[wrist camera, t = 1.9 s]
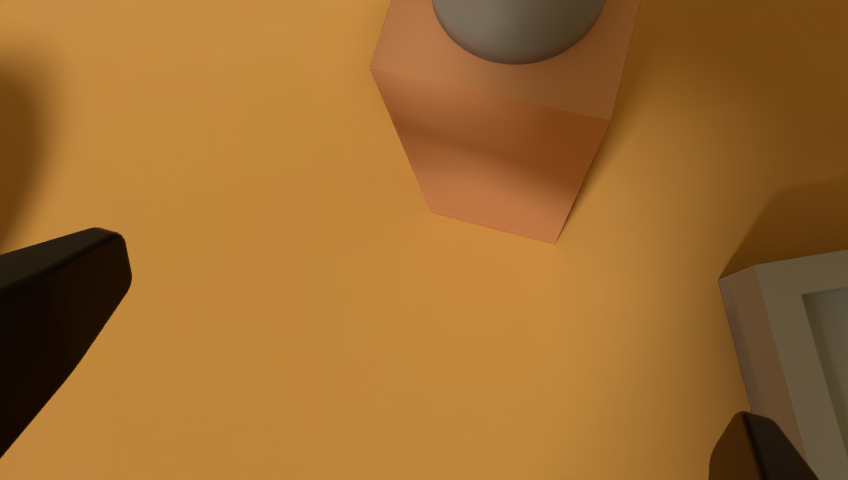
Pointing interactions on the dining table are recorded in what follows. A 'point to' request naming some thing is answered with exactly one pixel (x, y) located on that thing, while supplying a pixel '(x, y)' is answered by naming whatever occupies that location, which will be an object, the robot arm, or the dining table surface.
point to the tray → (796, 351)
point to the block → (503, 102)
